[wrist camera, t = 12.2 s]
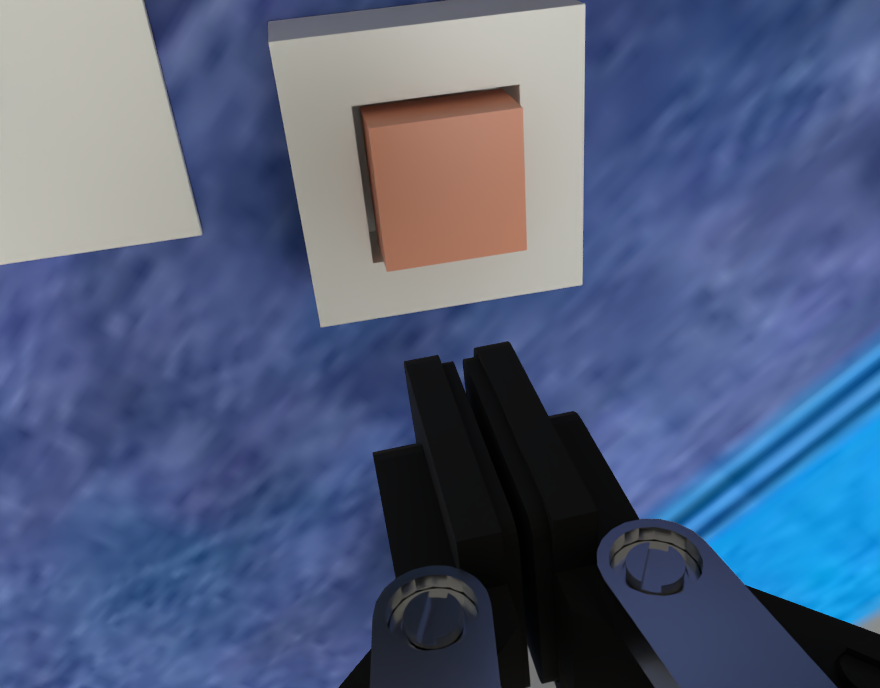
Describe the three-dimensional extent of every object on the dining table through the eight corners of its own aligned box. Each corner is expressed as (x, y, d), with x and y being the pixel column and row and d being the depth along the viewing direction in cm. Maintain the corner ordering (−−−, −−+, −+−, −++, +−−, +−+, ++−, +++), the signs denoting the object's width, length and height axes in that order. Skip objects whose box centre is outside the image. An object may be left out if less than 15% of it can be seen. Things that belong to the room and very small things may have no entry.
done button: (507, 221, 27) (527, 250, 25) (377, 241, 27) (386, 271, 24) (501, 88, 25) (523, 107, 23) (359, 106, 24) (368, 128, 22)
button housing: (550, 243, 31) (582, 284, 28) (315, 280, 30) (320, 327, 27) (547, -12, 26) (585, 4, 23) (267, 21, 25) (268, 42, 22)
